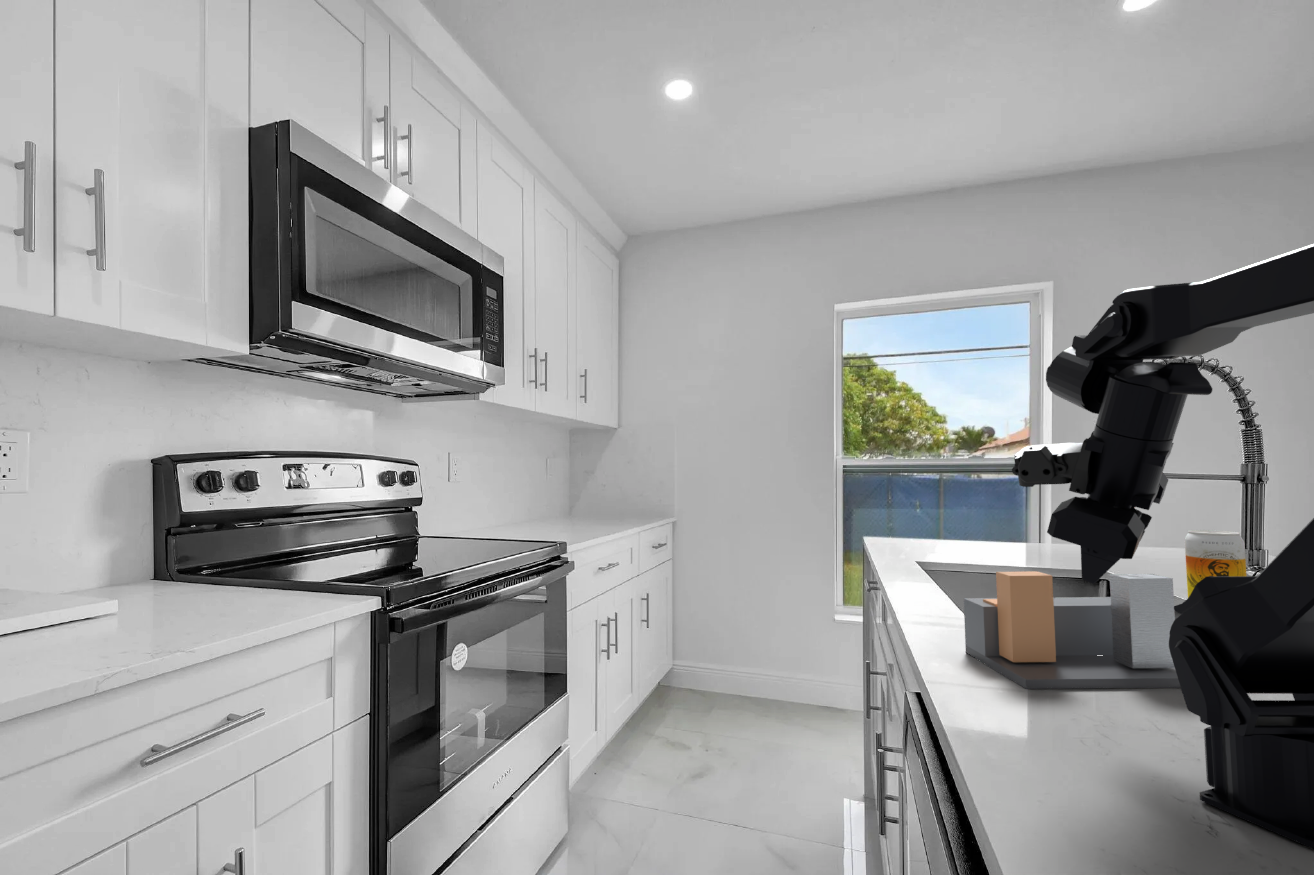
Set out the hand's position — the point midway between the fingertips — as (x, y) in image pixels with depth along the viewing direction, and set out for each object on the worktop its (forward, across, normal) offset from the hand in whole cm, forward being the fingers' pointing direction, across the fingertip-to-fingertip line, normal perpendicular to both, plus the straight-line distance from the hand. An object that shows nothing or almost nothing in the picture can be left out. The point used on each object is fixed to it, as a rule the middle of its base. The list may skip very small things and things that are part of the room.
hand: (1088, 580), depth 61 cm
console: (+17, -11, 0) cm, 20 cm away
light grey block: (+14, -14, +6) cm, 21 cm away
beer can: (+20, -36, +13) cm, 43 cm away
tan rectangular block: (+16, -7, -4) cm, 18 cm away
